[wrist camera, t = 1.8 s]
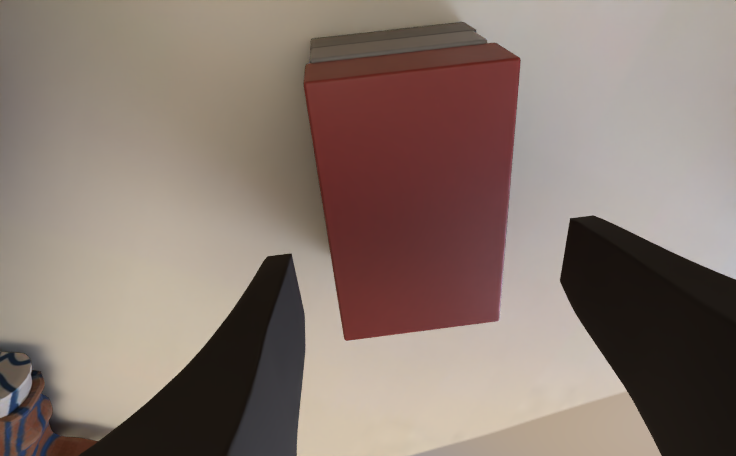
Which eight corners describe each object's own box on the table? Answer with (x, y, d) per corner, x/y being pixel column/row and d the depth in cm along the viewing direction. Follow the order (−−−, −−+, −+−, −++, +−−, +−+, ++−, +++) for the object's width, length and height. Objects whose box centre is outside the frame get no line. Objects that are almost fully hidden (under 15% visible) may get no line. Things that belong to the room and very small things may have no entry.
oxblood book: (483, 285, 18) (500, 321, 17) (342, 303, 18) (344, 342, 16) (496, 41, 14) (522, 57, 12) (304, 63, 13) (302, 82, 12)
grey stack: (459, 245, 21) (479, 288, 18) (342, 259, 21) (346, 305, 18) (464, 21, 16) (491, 38, 13) (310, 38, 16) (309, 59, 13)
